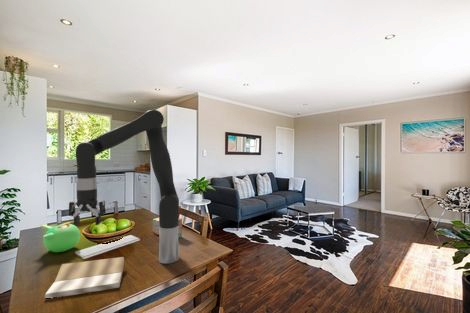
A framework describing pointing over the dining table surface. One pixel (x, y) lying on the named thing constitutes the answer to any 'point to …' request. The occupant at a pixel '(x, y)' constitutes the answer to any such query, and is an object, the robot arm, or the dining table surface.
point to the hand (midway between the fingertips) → (87, 224)
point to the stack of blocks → (157, 225)
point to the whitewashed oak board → (84, 285)
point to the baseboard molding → (106, 247)
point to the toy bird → (60, 237)
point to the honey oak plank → (90, 268)
